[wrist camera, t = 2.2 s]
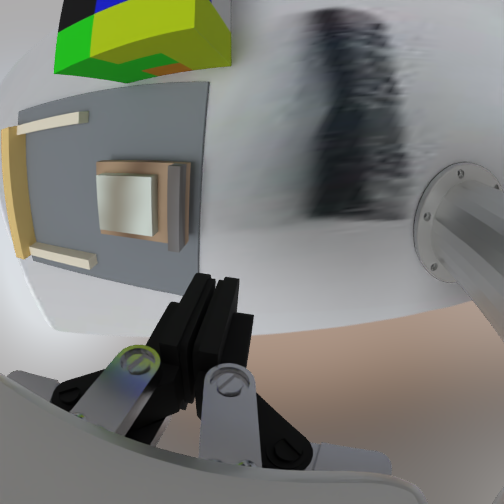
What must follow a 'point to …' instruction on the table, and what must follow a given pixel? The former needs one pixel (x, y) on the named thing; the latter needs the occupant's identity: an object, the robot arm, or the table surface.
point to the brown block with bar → (144, 200)
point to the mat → (84, 179)
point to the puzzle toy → (142, 38)
